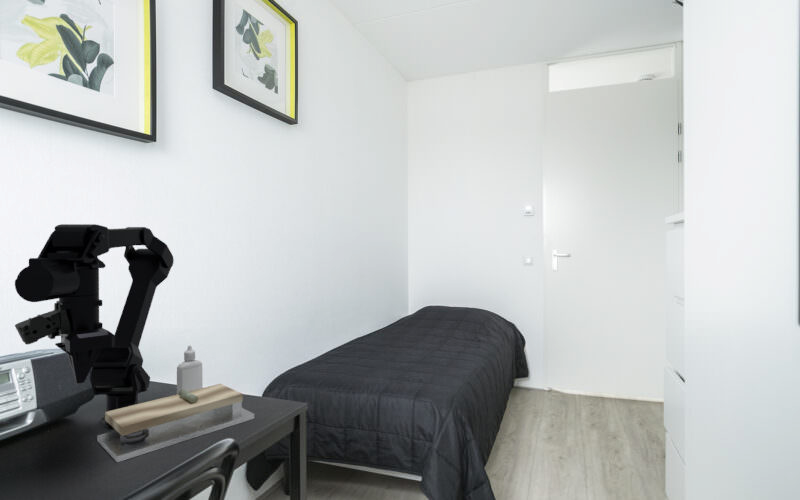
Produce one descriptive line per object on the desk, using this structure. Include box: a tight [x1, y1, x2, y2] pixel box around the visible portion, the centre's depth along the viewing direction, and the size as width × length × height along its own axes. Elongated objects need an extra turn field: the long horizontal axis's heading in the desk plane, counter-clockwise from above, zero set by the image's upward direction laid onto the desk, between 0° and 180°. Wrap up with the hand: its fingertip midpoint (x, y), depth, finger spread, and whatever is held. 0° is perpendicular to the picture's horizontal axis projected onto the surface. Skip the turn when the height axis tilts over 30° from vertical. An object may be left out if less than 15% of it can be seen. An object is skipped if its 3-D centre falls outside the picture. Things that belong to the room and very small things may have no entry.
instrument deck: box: [104, 383, 244, 436], centre depth 86 cm, size 10×22×3 cm, turn 138°
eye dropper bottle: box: [176, 345, 203, 394], centre depth 106 cm, size 4×6×12 cm
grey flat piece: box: [96, 401, 255, 463], centre depth 86 cm, size 12×25×4 cm, turn 138°
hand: (80, 382), depth 77 cm, fingers closed
